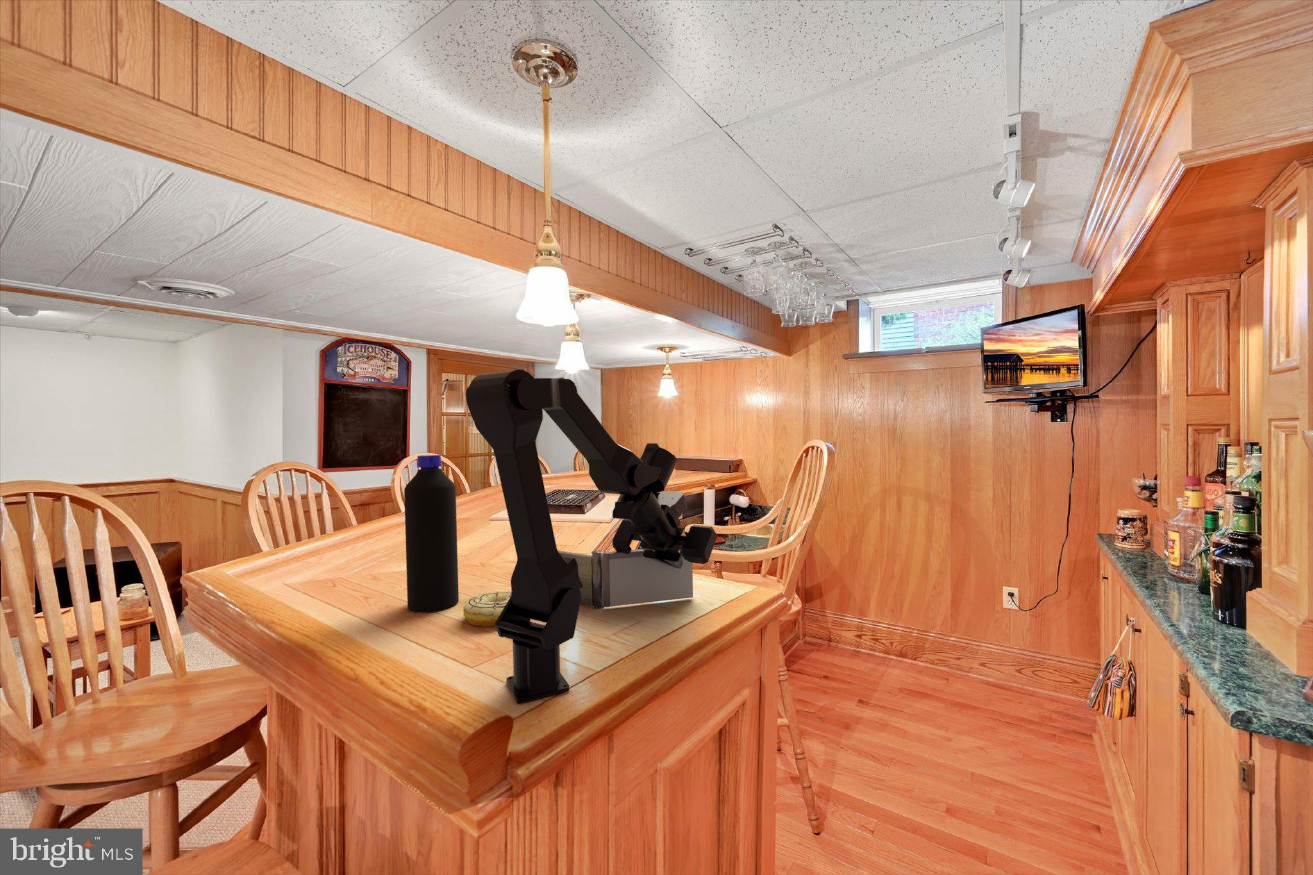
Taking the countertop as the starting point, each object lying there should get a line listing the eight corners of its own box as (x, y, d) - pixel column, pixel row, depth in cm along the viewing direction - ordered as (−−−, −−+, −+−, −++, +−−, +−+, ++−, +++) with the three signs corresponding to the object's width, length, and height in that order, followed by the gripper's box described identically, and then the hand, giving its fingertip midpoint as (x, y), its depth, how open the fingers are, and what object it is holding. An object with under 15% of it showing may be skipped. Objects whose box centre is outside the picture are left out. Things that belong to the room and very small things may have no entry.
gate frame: (542, 597, 100) (541, 545, 100) (550, 594, 102) (549, 543, 102) (599, 609, 93) (598, 553, 93) (606, 605, 95) (605, 551, 94)
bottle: (447, 612, 93) (442, 456, 92) (398, 613, 93) (393, 457, 93) (465, 596, 102) (462, 453, 101) (421, 597, 102) (417, 454, 101)
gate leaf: (604, 607, 92) (603, 554, 92) (602, 604, 94) (601, 552, 94) (693, 597, 97) (692, 546, 96) (690, 595, 98) (689, 545, 98)
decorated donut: (526, 627, 86) (526, 604, 86) (458, 633, 84) (457, 609, 84) (530, 605, 96) (529, 585, 96) (469, 610, 94) (469, 590, 94)
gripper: (711, 478, 86) (739, 534, 95) (620, 475, 96) (653, 526, 105) (689, 534, 79) (721, 588, 88) (593, 524, 89) (631, 574, 98)
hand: (680, 566), depth 95 cm, fingers closed
